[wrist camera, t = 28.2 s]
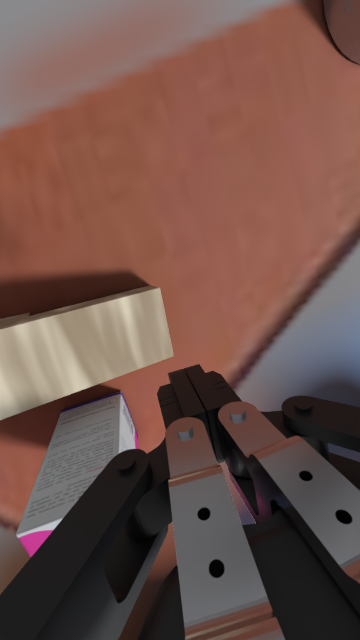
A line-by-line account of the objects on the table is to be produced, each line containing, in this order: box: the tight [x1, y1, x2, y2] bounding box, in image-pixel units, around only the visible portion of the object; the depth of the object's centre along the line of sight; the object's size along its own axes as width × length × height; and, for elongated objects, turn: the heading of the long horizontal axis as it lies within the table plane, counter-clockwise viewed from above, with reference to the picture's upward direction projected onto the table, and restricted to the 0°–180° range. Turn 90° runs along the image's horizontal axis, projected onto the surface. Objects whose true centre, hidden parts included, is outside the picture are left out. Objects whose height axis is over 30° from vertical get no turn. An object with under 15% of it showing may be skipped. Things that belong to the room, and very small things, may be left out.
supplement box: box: [16, 391, 138, 557], centre depth 21 cm, size 6×6×12 cm
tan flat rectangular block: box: [0, 285, 174, 420], centre depth 21 cm, size 2×6×15 cm
